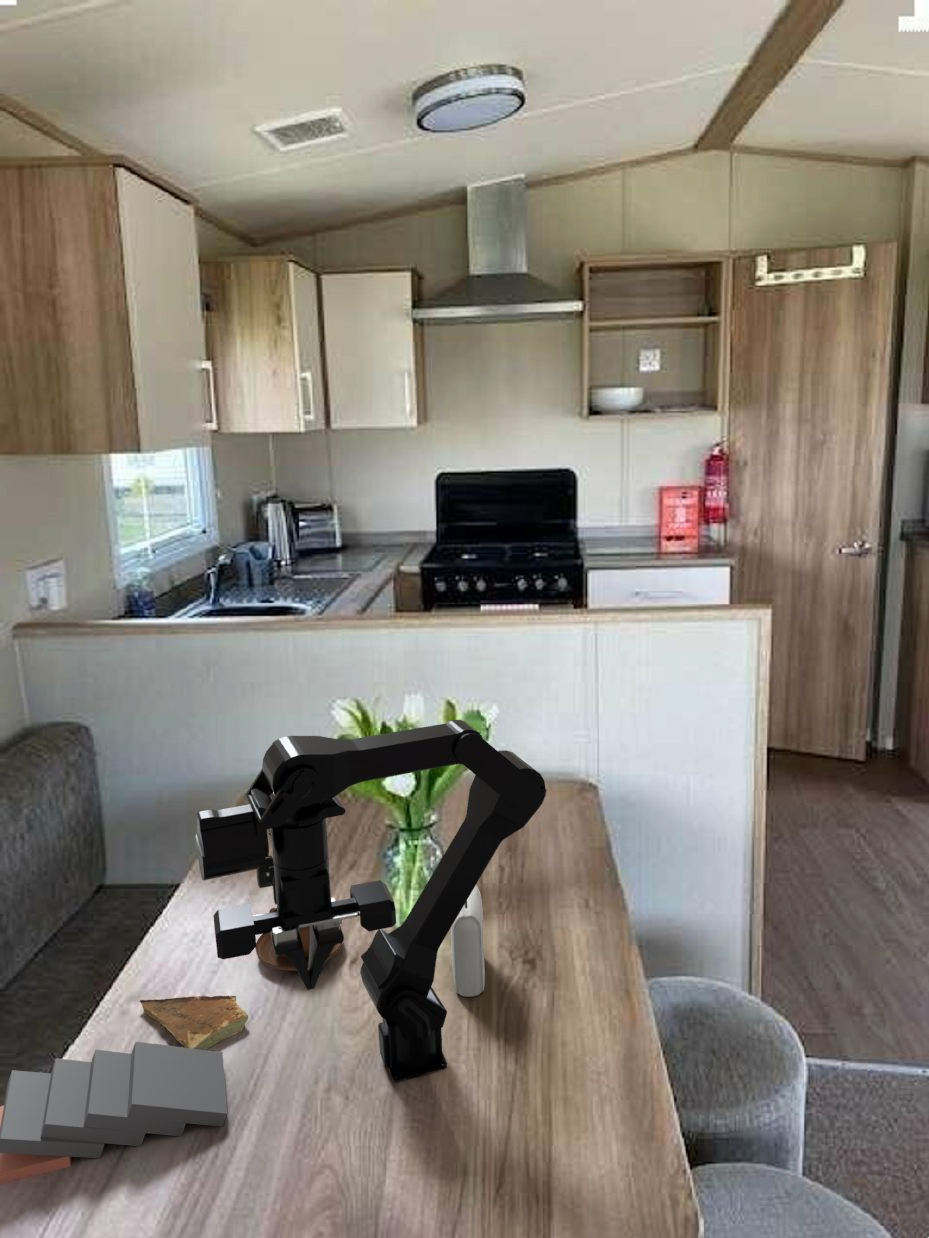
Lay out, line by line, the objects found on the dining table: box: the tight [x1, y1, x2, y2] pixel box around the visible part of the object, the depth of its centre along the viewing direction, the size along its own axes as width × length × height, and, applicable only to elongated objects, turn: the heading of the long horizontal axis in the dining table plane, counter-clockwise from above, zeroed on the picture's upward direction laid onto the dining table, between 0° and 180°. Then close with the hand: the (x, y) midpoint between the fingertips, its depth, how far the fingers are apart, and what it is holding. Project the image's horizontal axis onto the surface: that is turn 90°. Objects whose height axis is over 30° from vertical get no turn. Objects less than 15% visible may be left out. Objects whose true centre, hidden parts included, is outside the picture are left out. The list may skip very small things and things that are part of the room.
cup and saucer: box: [255, 907, 343, 972], centre depth 130 cm, size 12×12×6 cm
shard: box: [139, 995, 249, 1050], centre depth 118 cm, size 13×9×2 cm
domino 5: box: [127, 1041, 228, 1127], centre depth 103 cm, size 2×10×10 cm
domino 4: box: [83, 1049, 187, 1137], centre depth 102 cm, size 2×10×10 cm
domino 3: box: [41, 1057, 146, 1147], centre depth 101 cm, size 2×10×10 cm
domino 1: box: [0, 1069, 106, 1159], centre depth 99 cm, size 2×10×10 cm
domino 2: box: [0, 1105, 73, 1185], centre depth 99 cm, size 2×10×10 cm
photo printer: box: [450, 884, 486, 998], centre depth 123 cm, size 10×4×12 cm, turn 2°
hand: (310, 987), depth 102 cm, fingers closed
